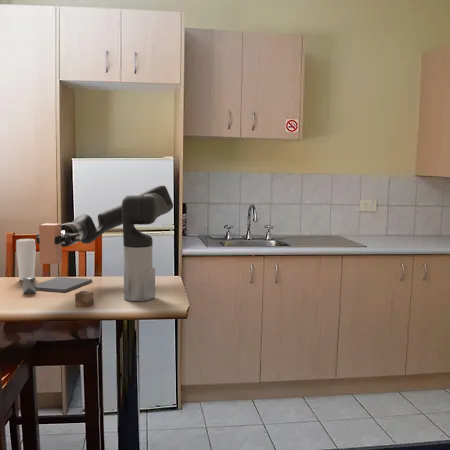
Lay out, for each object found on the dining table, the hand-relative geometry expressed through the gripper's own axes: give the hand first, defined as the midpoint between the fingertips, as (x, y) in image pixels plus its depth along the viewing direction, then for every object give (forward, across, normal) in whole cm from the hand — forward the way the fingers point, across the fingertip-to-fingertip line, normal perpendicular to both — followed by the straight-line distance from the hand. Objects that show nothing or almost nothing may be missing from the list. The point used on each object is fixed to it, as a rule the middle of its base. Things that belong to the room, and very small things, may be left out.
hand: (46, 240), depth 167 cm
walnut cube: (0, -12, -20) cm, 23 cm away
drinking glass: (-33, +23, -20) cm, 45 cm away
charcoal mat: (-25, +6, -20) cm, 32 cm away
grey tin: (-13, +12, -20) cm, 27 cm away
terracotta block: (-3, 0, -7) cm, 8 cm away
